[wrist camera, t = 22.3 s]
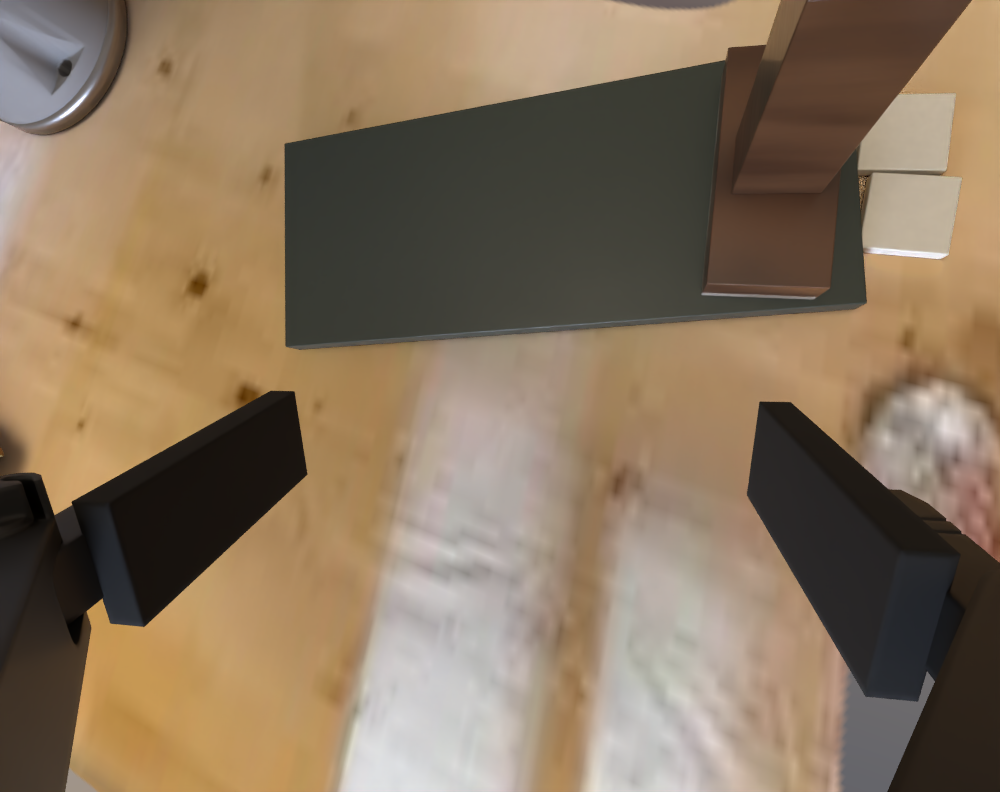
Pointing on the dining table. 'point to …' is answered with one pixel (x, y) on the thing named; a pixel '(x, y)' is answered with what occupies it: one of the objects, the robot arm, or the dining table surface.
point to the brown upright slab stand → (804, 135)
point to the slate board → (524, 219)
